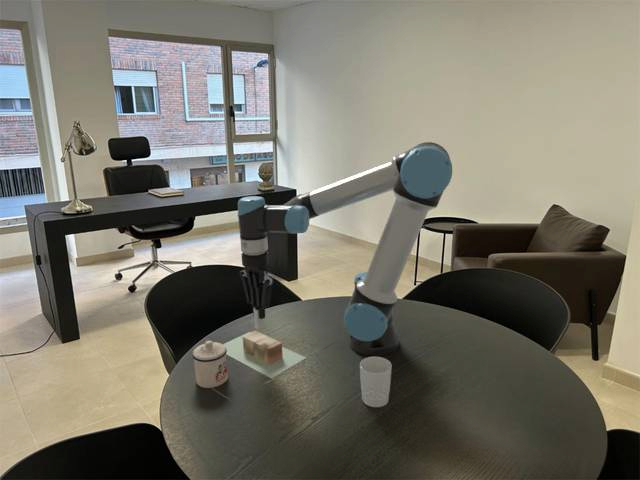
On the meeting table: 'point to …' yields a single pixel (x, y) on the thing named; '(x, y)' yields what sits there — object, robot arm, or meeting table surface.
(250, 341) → the oak block
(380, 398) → the white cup
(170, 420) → the meeting table surface
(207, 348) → the teacup with lid
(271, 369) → the rubber mat
